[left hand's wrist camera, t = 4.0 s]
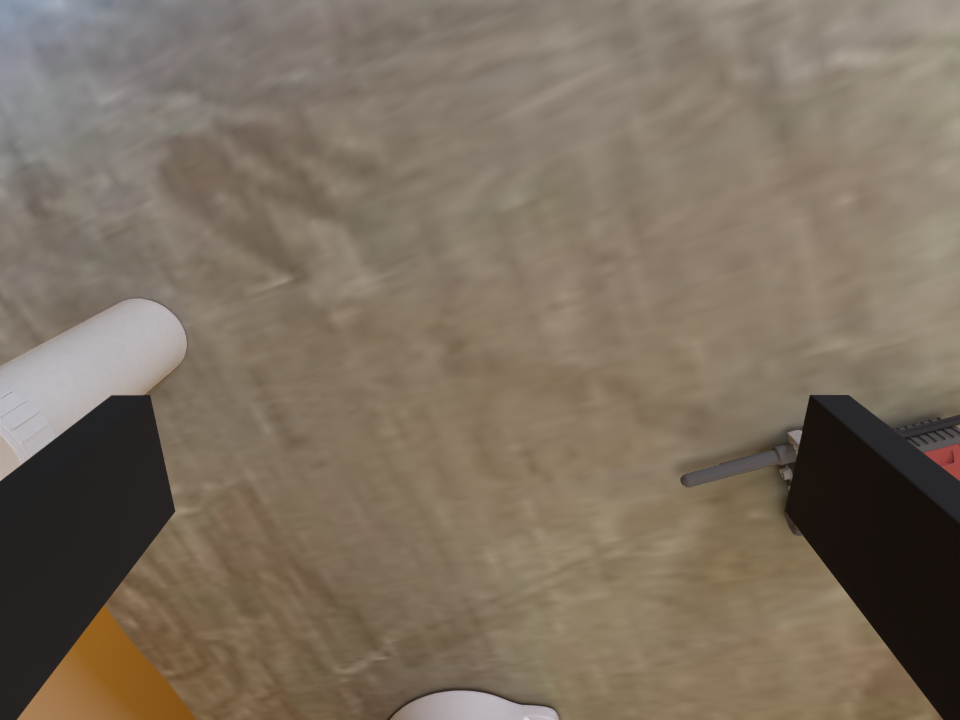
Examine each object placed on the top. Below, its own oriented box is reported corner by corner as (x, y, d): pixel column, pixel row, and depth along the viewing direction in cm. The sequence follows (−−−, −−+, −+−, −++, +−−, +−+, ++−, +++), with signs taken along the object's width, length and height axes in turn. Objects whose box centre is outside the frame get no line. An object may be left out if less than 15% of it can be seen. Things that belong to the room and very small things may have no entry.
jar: (137, 387, 43) (-44, 533, 28) (86, 318, 41) (-136, 436, 26) (203, 355, 42) (52, 489, 27) (154, 284, 40) (-36, 386, 25)
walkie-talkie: (962, 380, 42) (672, 459, 45) (1014, 409, 38) (691, 494, 41) (966, 485, 46) (695, 553, 48) (1014, 522, 41) (715, 595, 44)
